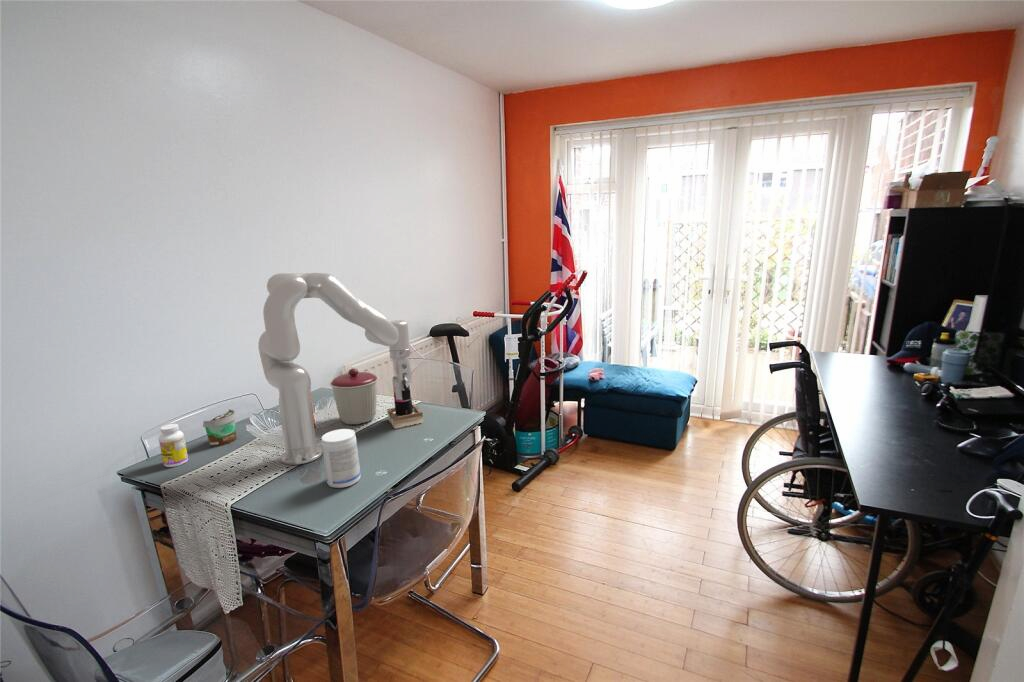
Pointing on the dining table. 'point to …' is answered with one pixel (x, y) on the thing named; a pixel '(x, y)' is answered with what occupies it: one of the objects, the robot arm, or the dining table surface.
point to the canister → (355, 396)
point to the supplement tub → (341, 458)
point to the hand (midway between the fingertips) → (403, 396)
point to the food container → (221, 429)
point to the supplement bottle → (173, 446)
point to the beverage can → (401, 405)
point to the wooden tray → (405, 418)
